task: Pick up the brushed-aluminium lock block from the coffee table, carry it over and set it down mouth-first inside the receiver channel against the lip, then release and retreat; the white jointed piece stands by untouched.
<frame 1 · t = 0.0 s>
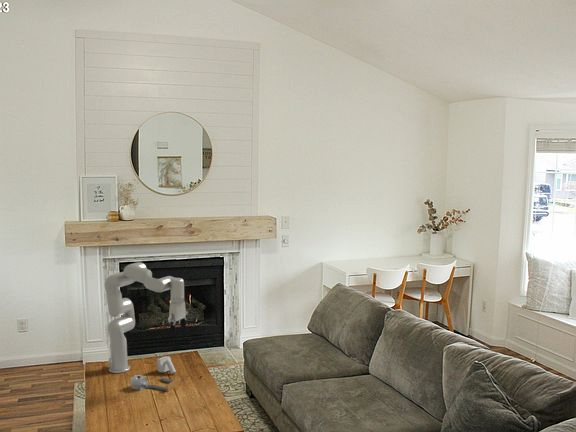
hand: (178, 329, 324), 31 cm above the table, fingers open, 9 cm apart
lock block: (139, 387, 320), on the table
receiver: (165, 385, 322), on the table
white jointed piece: (168, 372, 342), on the table
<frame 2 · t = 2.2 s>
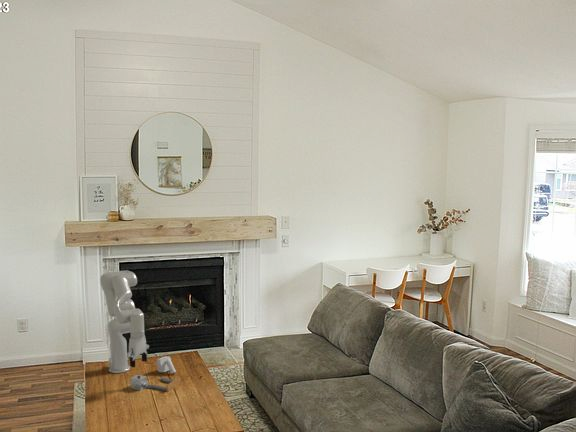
hand: (138, 364, 318), 14 cm above the table, fingers open, 9 cm apart
nothing on the table moved.
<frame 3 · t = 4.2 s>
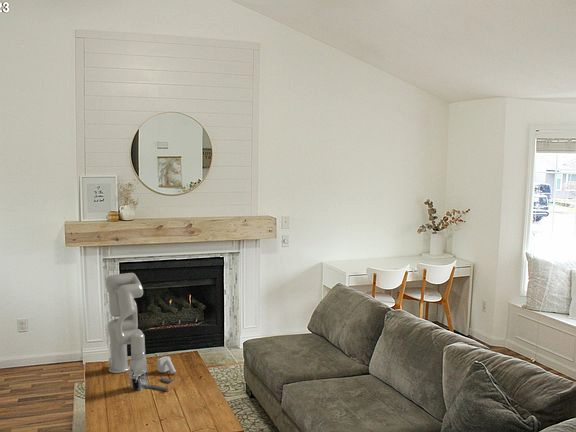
hand: (139, 386, 320), 1 cm above the table, fingers closed on lock block, 5 cm apart
lock block: (139, 387, 320), on the table, touching gripper
everything else where it was.
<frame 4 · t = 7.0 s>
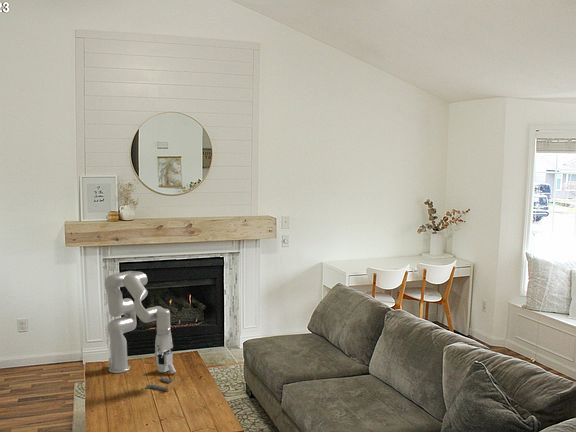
hand: (164, 362, 320), 14 cm above the table, fingers closed on lock block, 5 cm apart
lock block: (164, 363, 320), point 13 cm above the table, touching gripper
everything else where it was.
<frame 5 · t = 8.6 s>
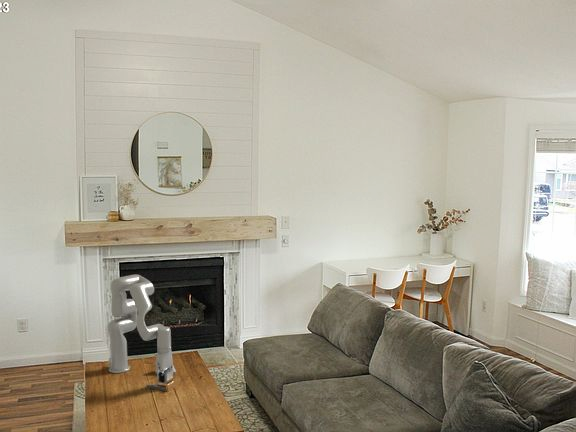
hand: (165, 379, 321), 4 cm above the table, fingers closed on lock block, 5 cm apart
lock block: (165, 381, 321), point 3 cm above the table, touching gripper
everything else where it was.
when the fingers open (2 cm above the table, at t = 9.8 s): lock block drops 1 cm, resting in receiver.
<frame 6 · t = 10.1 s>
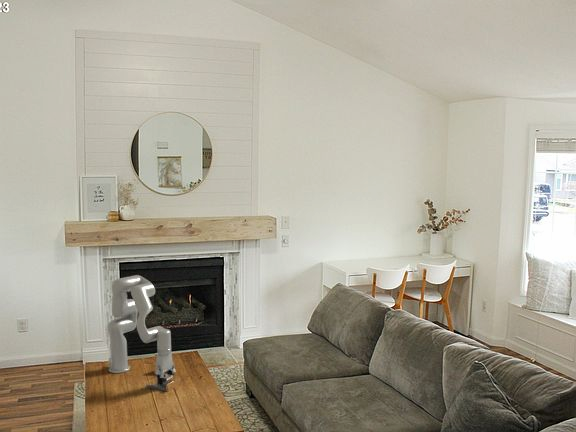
hand: (165, 381, 321), 3 cm above the table, fingers open, 8 cm apart
lock block: (165, 386, 322), resting in receiver
everything else where it was.
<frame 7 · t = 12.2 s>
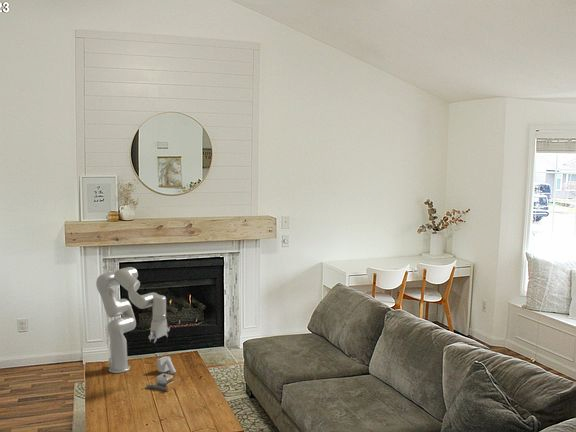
hand: (159, 346, 326), 21 cm above the table, fingers open, 9 cm apart
nothing on the table moved.
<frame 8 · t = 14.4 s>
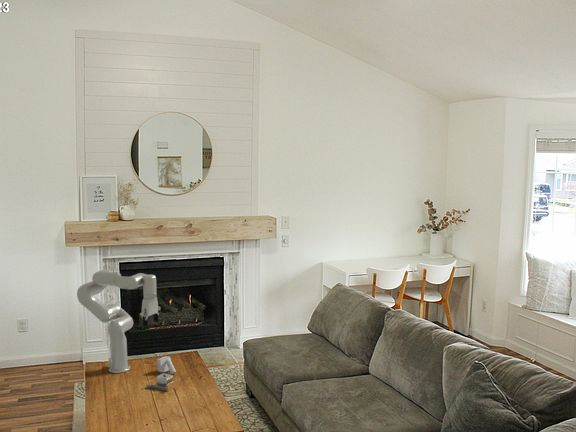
hand: (150, 323, 337), 30 cm above the table, fingers open, 9 cm apart
nothing on the table moved.
at the end: lock block 0.6 cm off-centre on the receiver, point 0.0 cm above the receiver's base; lock block tilted 0°; the gripper is holding nothing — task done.
